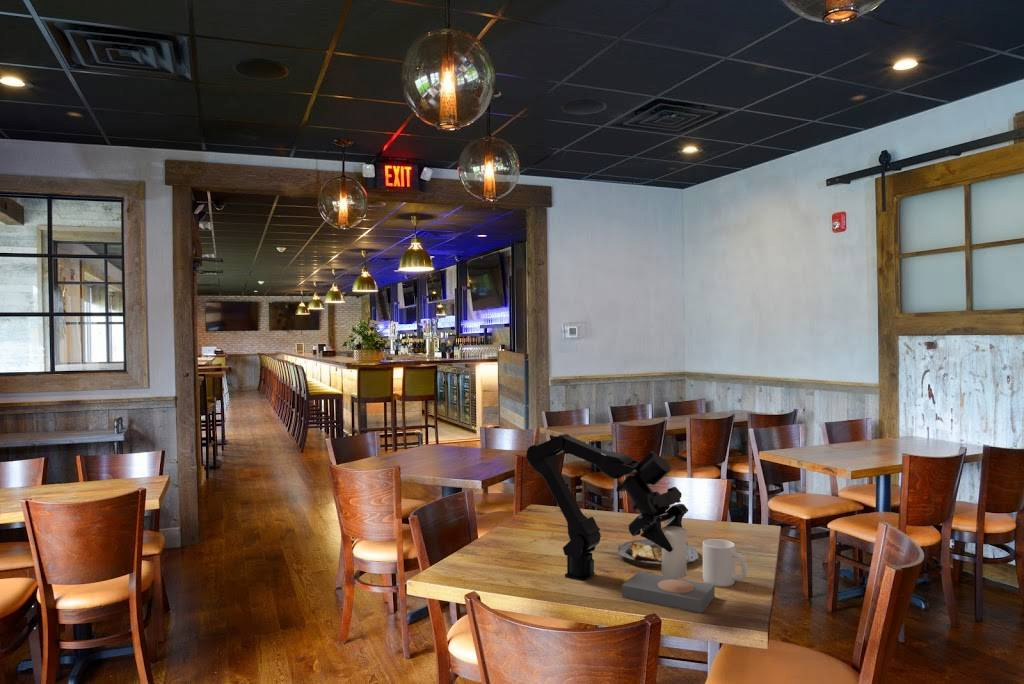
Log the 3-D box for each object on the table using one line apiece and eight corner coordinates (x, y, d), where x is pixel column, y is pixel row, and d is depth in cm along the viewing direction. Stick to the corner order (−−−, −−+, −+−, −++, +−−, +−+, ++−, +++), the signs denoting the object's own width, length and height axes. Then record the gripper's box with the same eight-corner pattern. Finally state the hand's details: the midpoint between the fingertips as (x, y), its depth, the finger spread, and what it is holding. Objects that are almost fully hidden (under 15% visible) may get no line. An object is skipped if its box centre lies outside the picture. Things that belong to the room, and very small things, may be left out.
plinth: (622, 597, 170) (621, 584, 170) (638, 582, 181) (638, 570, 181) (701, 613, 160) (701, 599, 160) (714, 596, 170) (714, 584, 170)
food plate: (701, 573, 188) (700, 560, 188) (616, 568, 193) (616, 556, 193) (695, 548, 213) (695, 537, 213) (620, 545, 217) (620, 534, 217)
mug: (754, 585, 178) (753, 546, 178) (739, 593, 173) (739, 553, 173) (712, 574, 187) (712, 537, 187) (697, 581, 181) (696, 543, 181)
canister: (658, 574, 167) (658, 530, 167) (666, 568, 172) (666, 524, 172) (681, 579, 164) (682, 534, 164) (689, 572, 169) (689, 528, 169)
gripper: (638, 482, 164) (677, 537, 156) (681, 472, 177) (719, 523, 169) (612, 508, 170) (648, 563, 162) (656, 497, 183) (692, 547, 175)
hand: (678, 548), depth 167 cm, fingers closed on canister, 6 cm apart
